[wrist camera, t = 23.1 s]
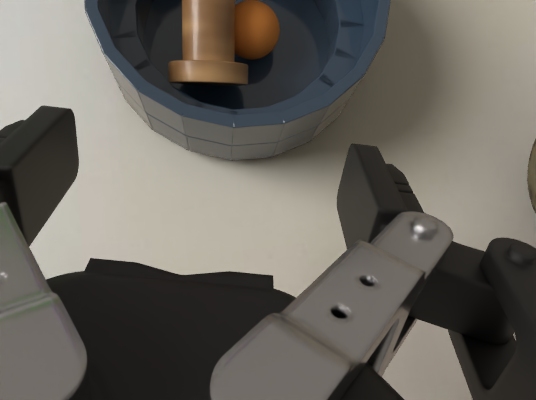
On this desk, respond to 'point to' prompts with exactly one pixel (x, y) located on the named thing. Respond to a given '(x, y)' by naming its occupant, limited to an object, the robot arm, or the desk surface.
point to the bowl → (259, 73)
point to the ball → (255, 29)
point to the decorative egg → (532, 176)
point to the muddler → (208, 46)
